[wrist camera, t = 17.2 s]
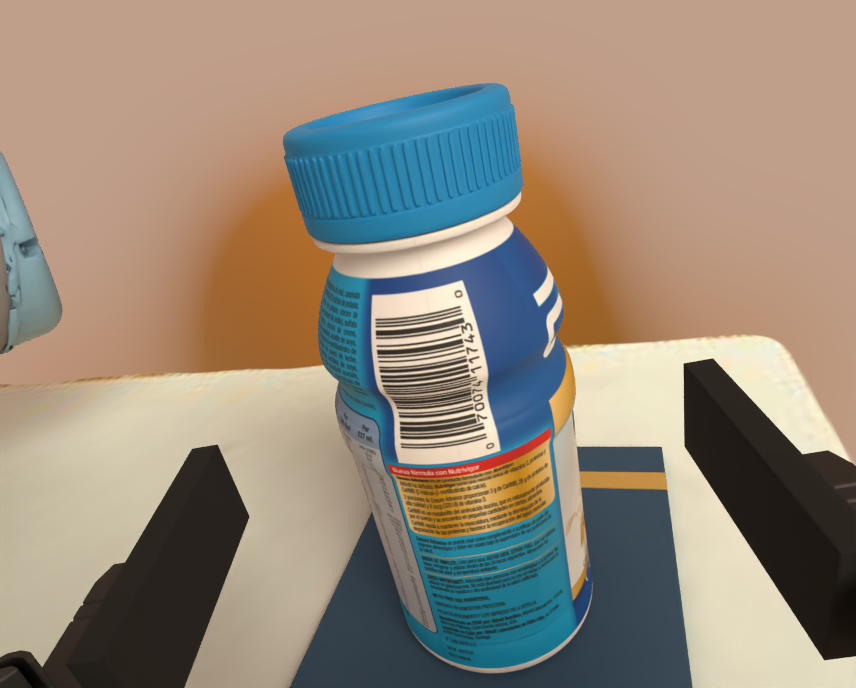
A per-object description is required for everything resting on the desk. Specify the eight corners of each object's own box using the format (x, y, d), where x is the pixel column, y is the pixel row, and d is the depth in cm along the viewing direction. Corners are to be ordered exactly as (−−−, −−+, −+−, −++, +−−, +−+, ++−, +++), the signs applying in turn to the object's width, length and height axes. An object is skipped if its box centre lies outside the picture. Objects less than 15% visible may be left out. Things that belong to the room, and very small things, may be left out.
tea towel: (404, 454, 37) (401, 445, 36) (662, 455, 32) (661, 445, 32) (233, 830, 20) (226, 819, 20) (724, 950, 15) (724, 938, 15)
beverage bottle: (363, 611, 26) (194, 149, 17) (483, 497, 31) (399, 92, 22) (516, 733, 20) (379, 130, 11) (635, 569, 25) (602, 59, 16)
